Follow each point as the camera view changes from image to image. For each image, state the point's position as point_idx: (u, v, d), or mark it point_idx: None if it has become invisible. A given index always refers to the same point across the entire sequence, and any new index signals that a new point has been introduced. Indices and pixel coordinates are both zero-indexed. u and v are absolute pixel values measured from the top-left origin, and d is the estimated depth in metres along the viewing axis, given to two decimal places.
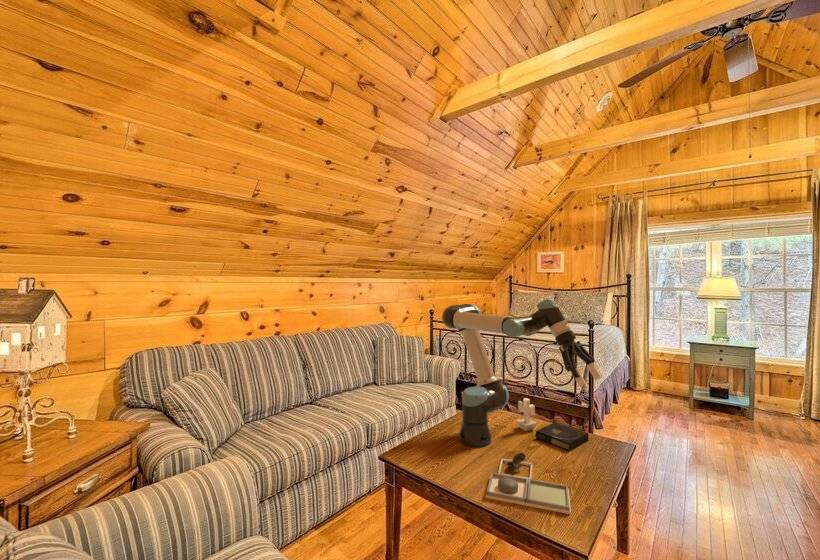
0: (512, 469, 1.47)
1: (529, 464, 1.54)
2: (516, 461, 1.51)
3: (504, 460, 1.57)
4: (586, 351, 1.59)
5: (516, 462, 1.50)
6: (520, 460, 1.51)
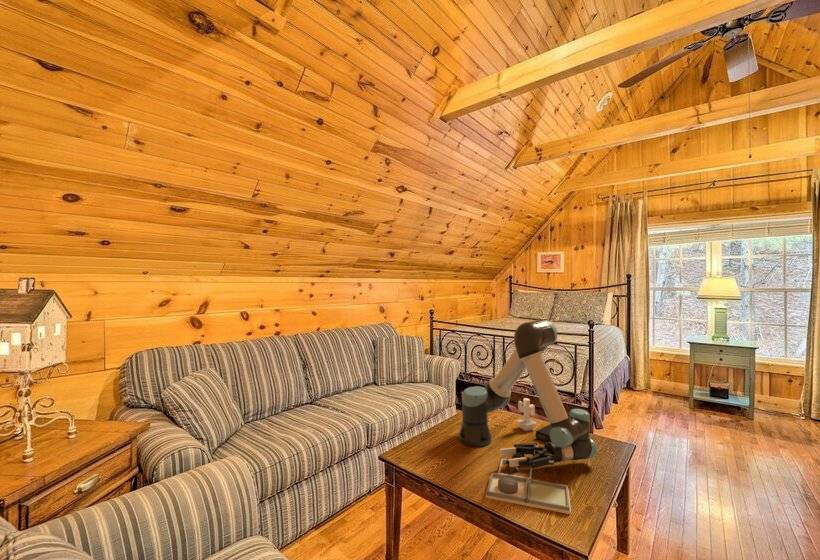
0: (510, 468, 1.48)
1: None
2: None
3: None
4: None
5: None
6: None
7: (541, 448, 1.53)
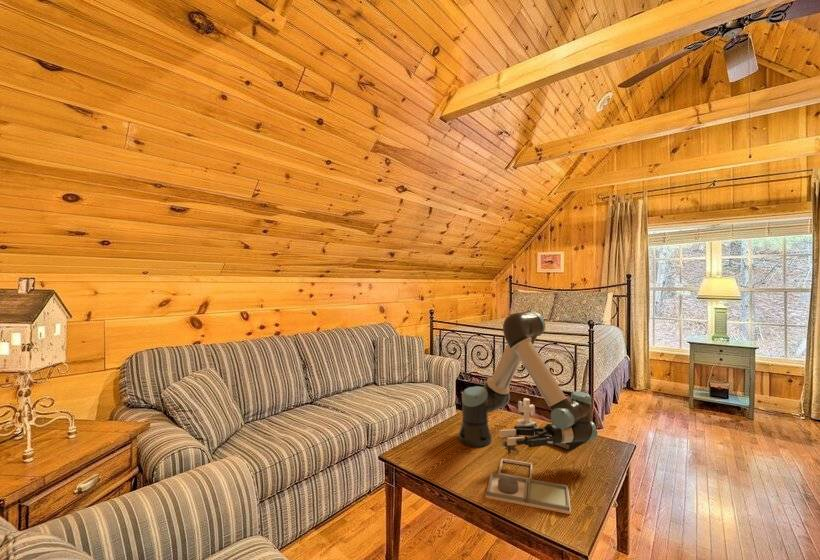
0: (508, 448, 1.49)
1: (529, 464, 1.54)
2: None
3: (504, 460, 1.57)
4: None
5: None
6: None
7: (541, 429, 1.53)
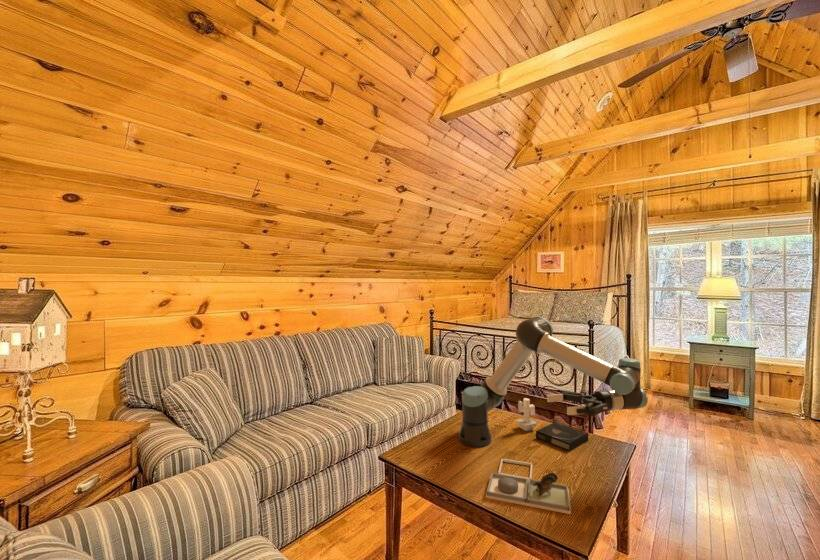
0: (539, 491, 1.31)
1: (529, 464, 1.54)
2: (546, 481, 1.34)
3: (504, 460, 1.57)
4: None
5: (545, 483, 1.33)
6: (551, 481, 1.34)
7: (589, 396, 1.48)
